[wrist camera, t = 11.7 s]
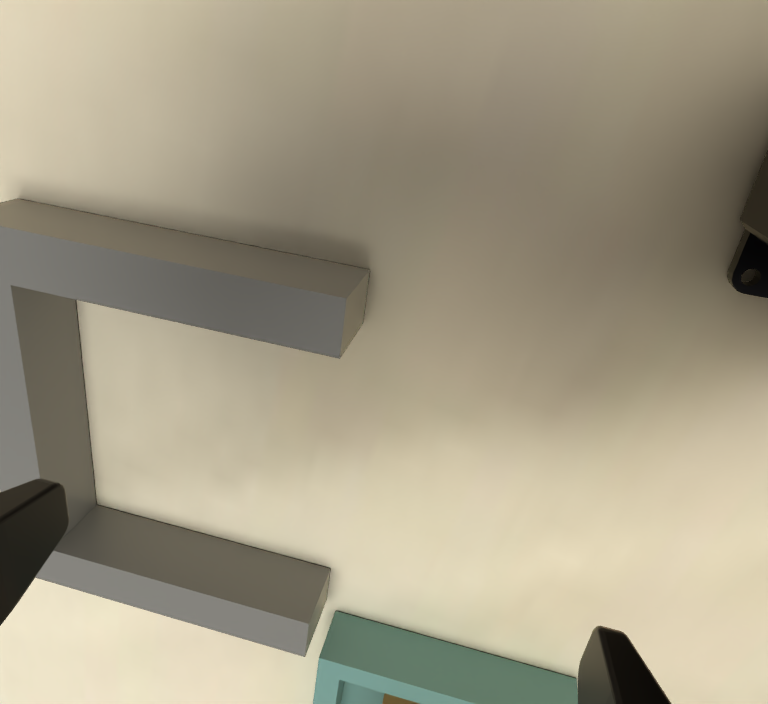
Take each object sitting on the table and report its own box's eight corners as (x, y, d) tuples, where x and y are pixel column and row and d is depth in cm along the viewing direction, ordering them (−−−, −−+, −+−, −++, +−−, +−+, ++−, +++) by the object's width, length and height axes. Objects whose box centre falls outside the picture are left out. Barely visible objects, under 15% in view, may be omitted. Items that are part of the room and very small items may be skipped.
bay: (369, 269, 20) (346, 298, 17) (326, 600, 27) (304, 656, 24) (17, 198, 22) (-53, 214, 19) (62, 526, 29) (15, 571, 26)
